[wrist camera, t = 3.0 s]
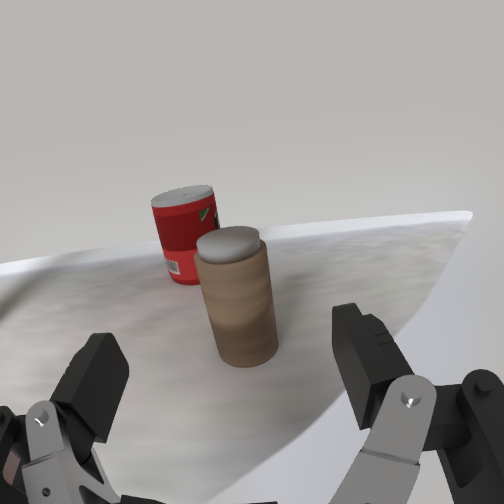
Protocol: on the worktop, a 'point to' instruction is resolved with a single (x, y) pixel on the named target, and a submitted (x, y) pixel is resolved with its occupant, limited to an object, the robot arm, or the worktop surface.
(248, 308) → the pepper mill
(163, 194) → the canned food
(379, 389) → the robot arm
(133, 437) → the worktop surface
